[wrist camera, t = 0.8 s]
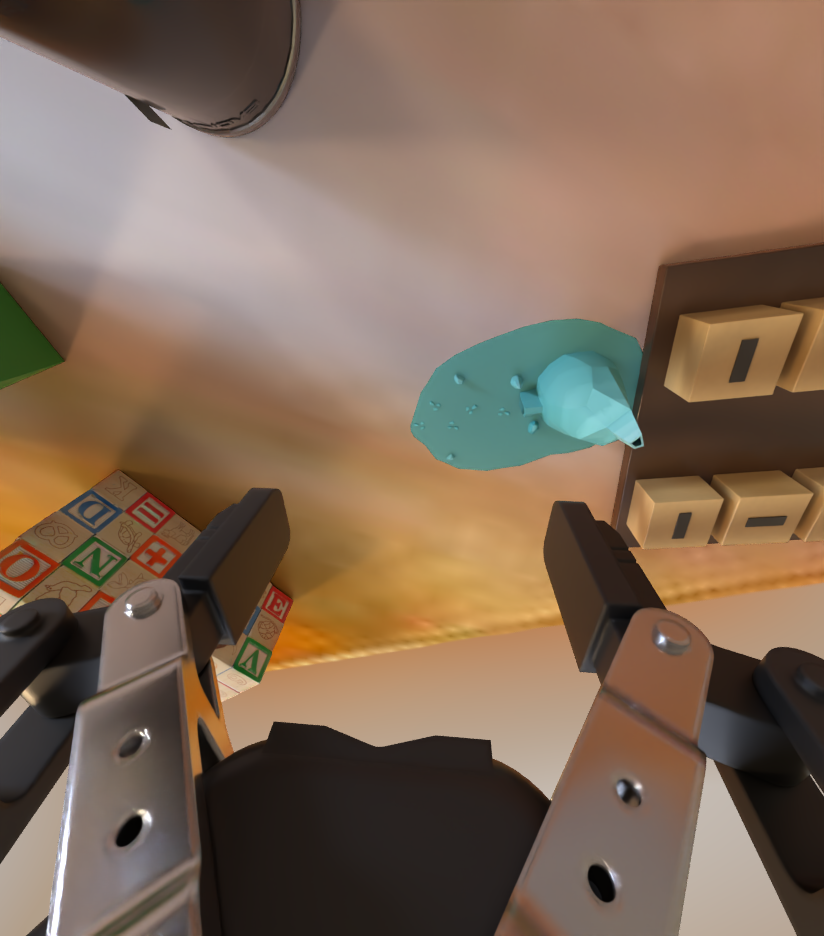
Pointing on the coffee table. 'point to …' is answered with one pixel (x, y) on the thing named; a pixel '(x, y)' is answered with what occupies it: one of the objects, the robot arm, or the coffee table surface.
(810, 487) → the tan cross-marked cube
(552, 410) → the diorama
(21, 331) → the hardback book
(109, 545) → the stack of blocks
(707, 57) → the coffee table surface
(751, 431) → the letter board
